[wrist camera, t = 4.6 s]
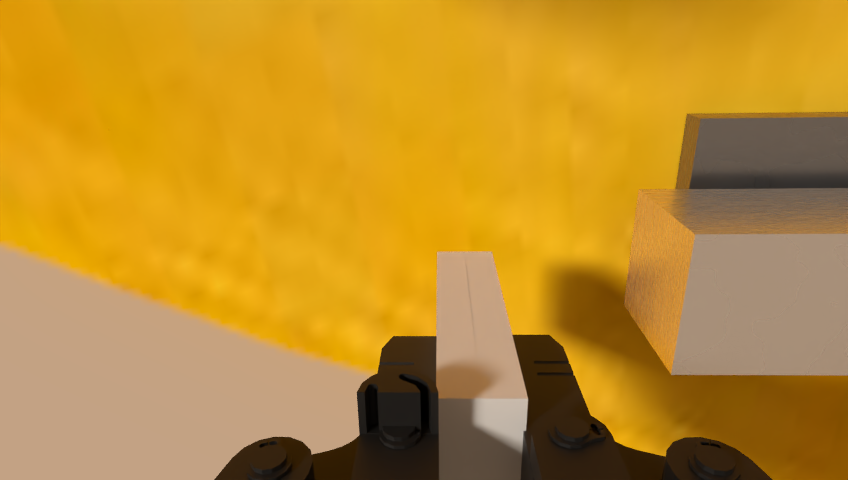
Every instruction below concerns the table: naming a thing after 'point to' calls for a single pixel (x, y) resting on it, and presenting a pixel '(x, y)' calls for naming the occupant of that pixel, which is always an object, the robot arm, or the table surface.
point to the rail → (764, 151)
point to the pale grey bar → (742, 280)
